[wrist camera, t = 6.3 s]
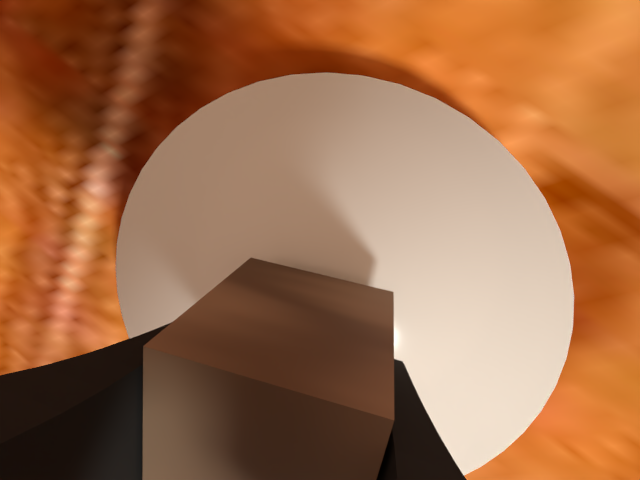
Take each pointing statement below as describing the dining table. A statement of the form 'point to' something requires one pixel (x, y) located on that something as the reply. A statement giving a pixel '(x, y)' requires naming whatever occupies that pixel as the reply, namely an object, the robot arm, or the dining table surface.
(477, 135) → the white plate
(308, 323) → the walnut block
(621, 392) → the dining table surface
